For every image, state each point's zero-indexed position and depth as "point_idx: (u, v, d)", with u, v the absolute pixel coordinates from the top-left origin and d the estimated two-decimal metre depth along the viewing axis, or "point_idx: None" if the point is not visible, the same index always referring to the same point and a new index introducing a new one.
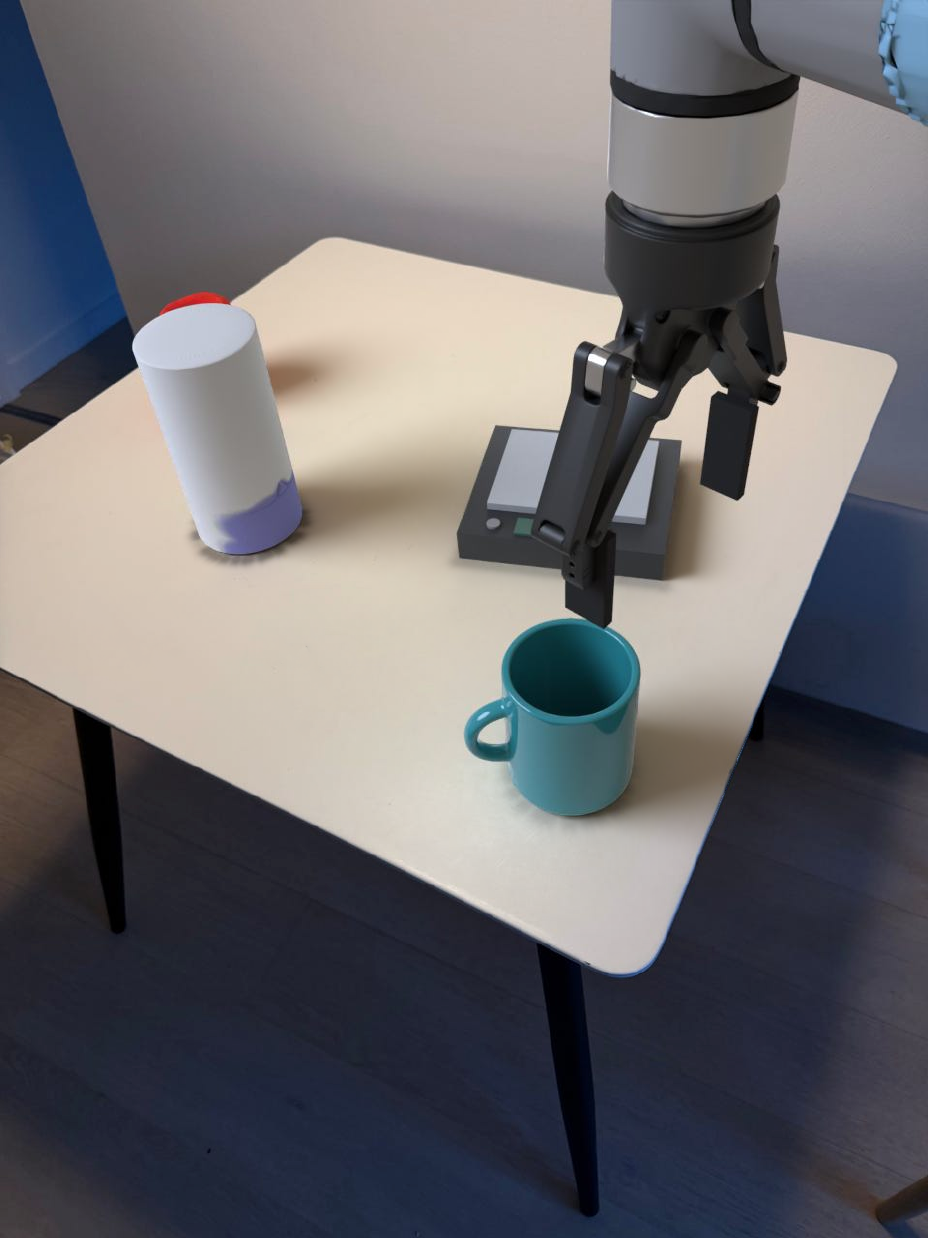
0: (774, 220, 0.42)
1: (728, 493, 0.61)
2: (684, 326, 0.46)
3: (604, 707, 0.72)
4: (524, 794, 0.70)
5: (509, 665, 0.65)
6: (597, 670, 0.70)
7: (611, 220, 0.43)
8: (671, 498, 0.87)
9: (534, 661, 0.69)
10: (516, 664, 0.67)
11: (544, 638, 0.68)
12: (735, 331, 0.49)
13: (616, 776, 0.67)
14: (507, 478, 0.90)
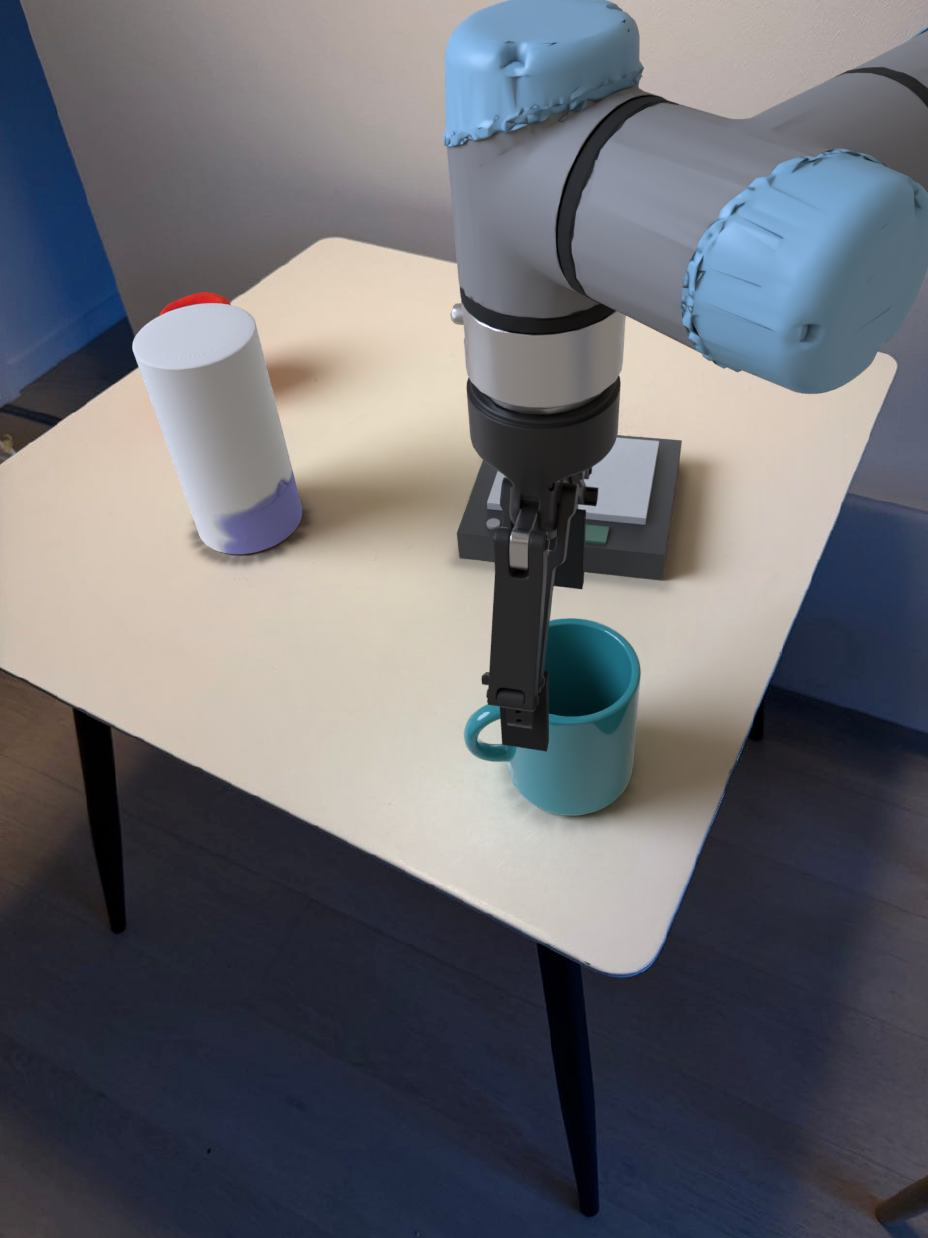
0: None
1: (572, 585, 0.67)
2: (560, 483, 0.51)
3: (604, 707, 0.72)
4: (524, 794, 0.70)
5: None
6: (597, 670, 0.70)
7: (490, 419, 0.47)
8: (671, 498, 0.87)
9: None
10: None
11: None
12: None
13: (616, 776, 0.67)
14: None
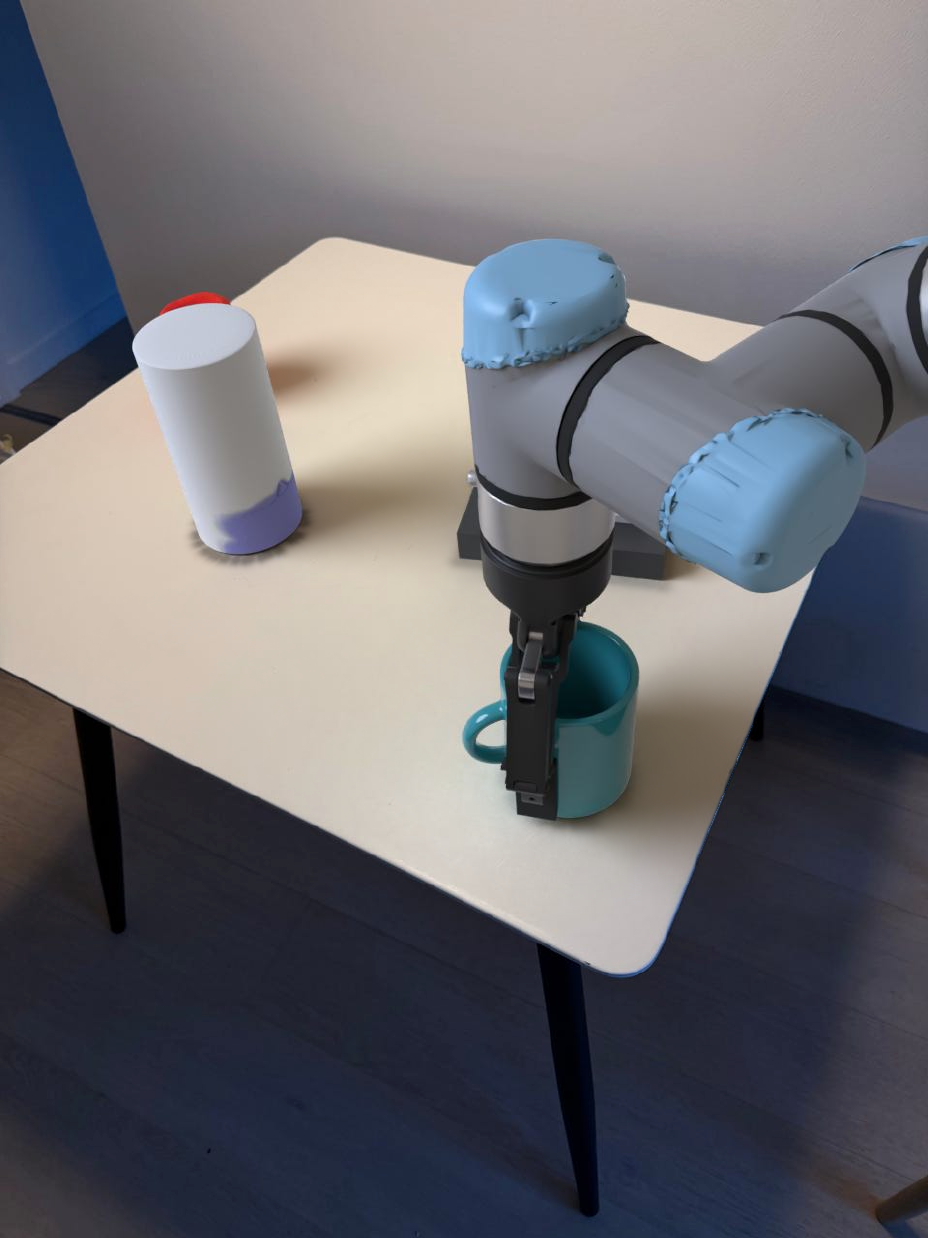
0: None
1: None
2: None
3: (603, 709, 0.72)
4: None
5: None
6: (596, 672, 0.69)
7: (500, 568, 0.54)
8: None
9: None
10: None
11: None
12: None
13: (615, 778, 0.67)
14: None
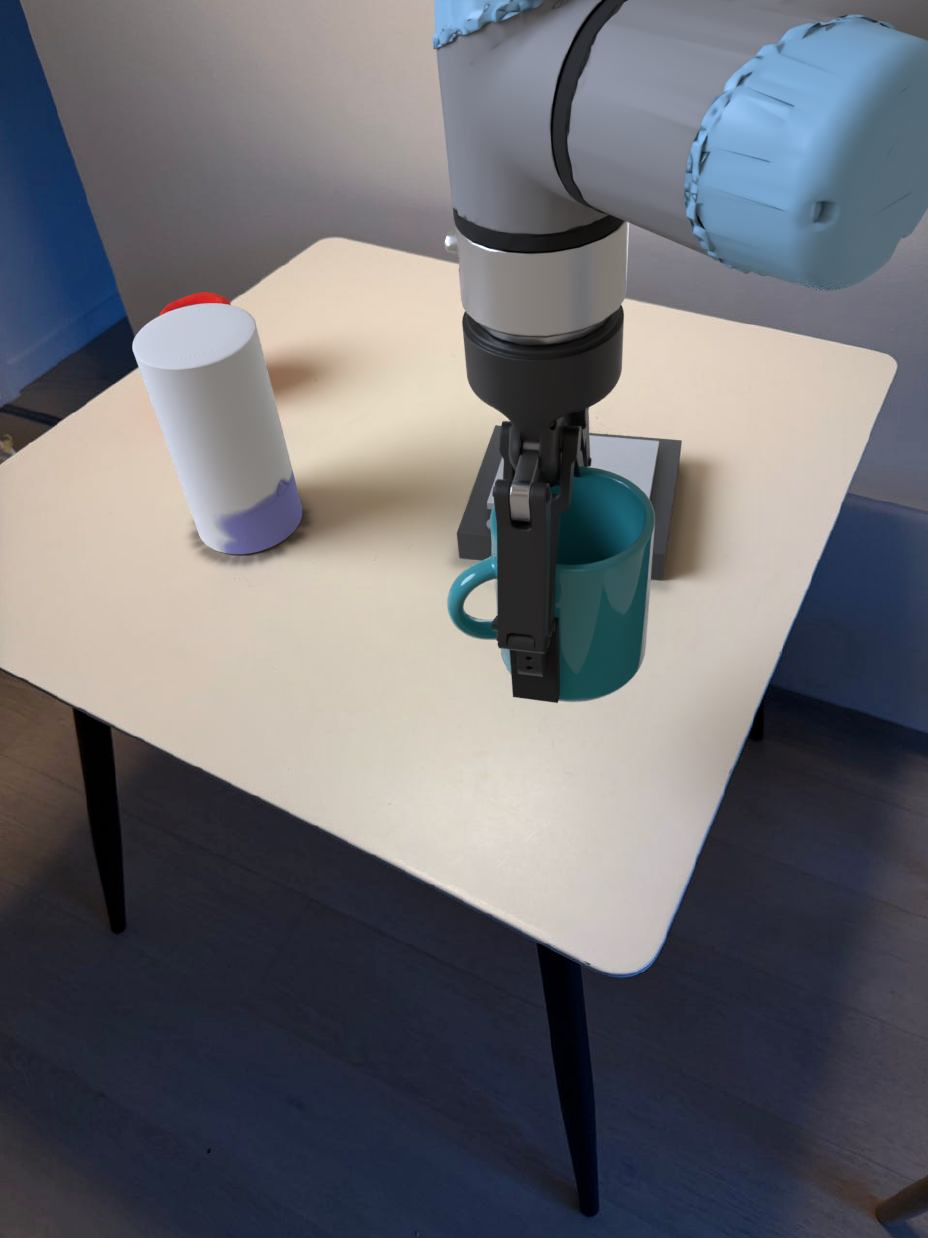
0: (623, 314, 0.46)
1: None
2: (561, 428, 0.48)
3: None
4: None
5: None
6: (603, 532, 0.60)
7: (487, 352, 0.44)
8: (671, 498, 0.87)
9: None
10: None
11: None
12: None
13: (627, 651, 0.57)
14: None
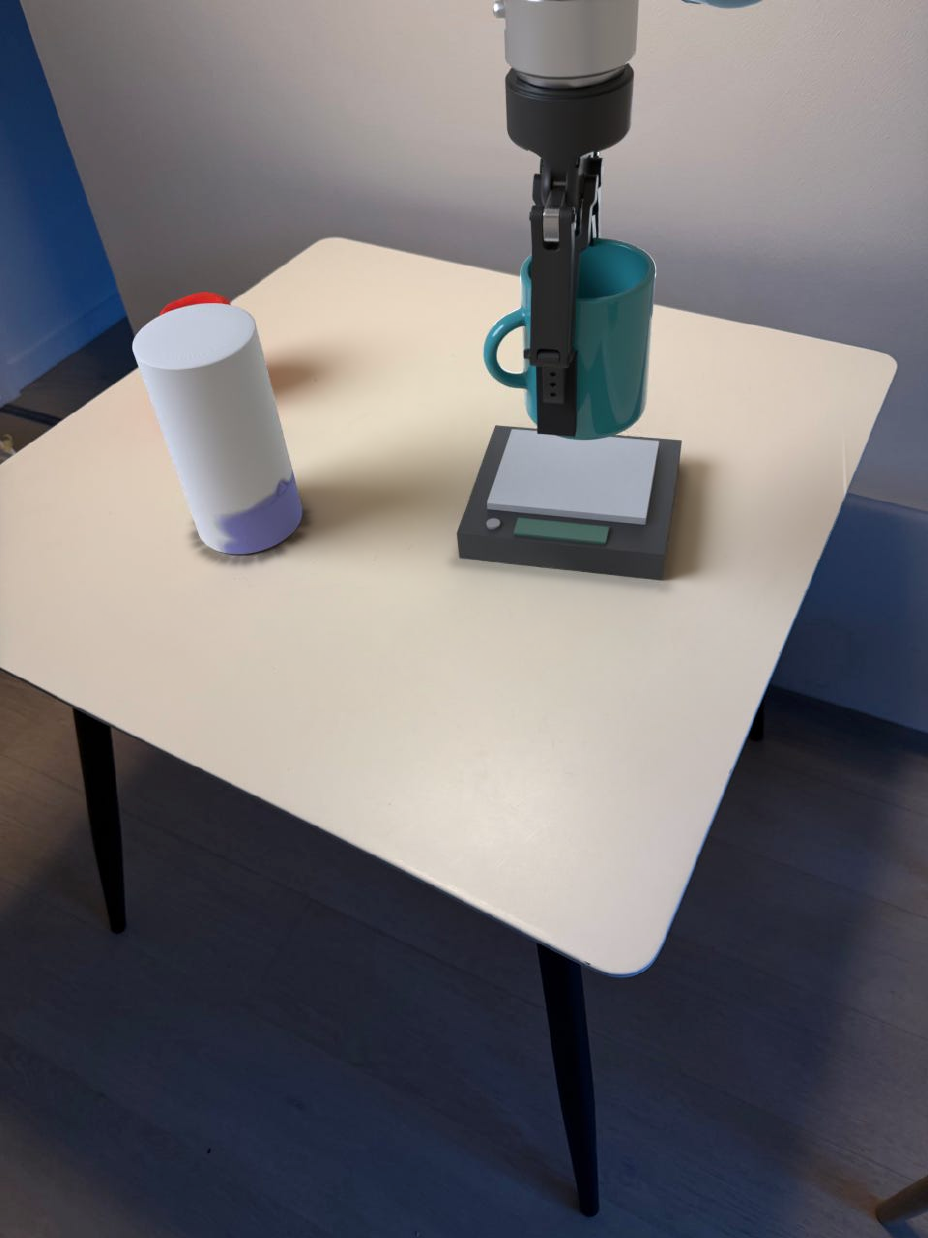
0: (633, 73, 0.58)
1: None
2: (582, 174, 0.60)
3: None
4: None
5: (528, 269, 0.67)
6: None
7: (526, 96, 0.56)
8: (671, 498, 0.87)
9: None
10: None
11: None
12: None
13: (631, 390, 0.69)
14: (507, 478, 0.90)
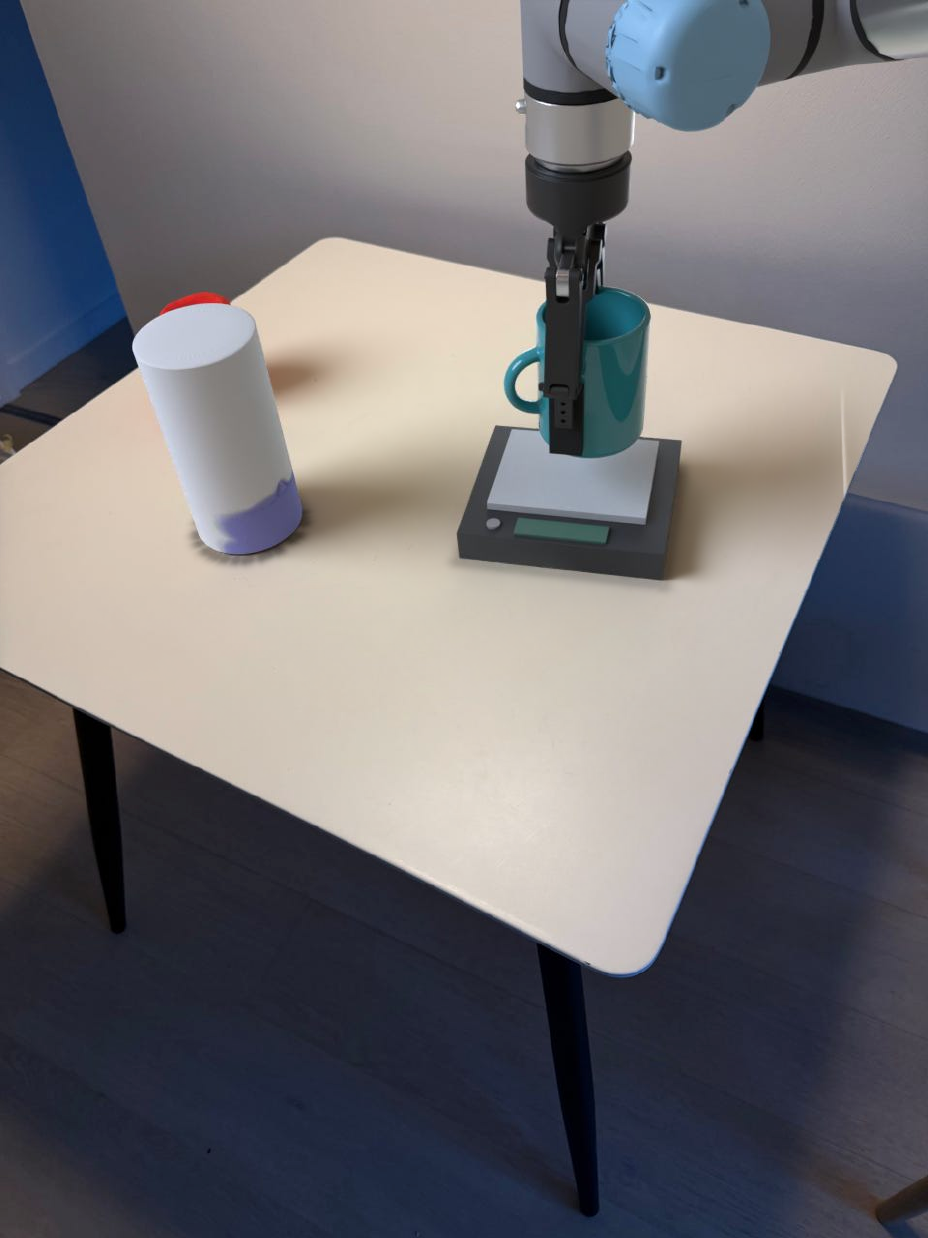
0: (631, 158, 0.69)
1: None
2: (589, 239, 0.72)
3: None
4: None
5: (542, 314, 0.79)
6: None
7: (542, 178, 0.68)
8: (671, 498, 0.87)
9: None
10: None
11: None
12: None
13: (630, 416, 0.81)
14: (507, 478, 0.90)
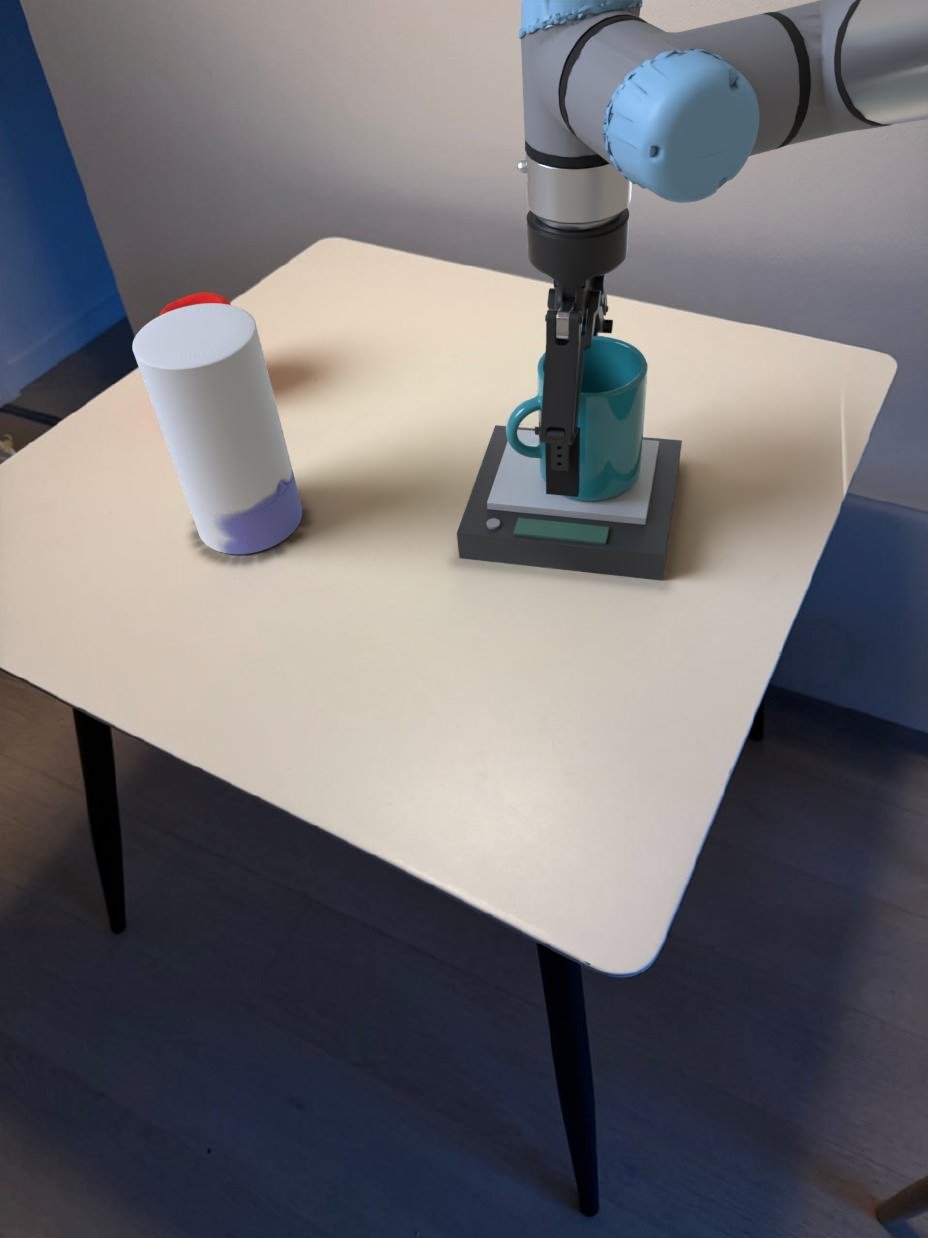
0: None
1: None
2: (588, 288, 0.75)
3: None
4: None
5: (543, 365, 0.82)
6: (612, 385, 0.87)
7: (543, 235, 0.71)
8: (671, 498, 0.87)
9: None
10: None
11: None
12: None
13: (628, 462, 0.84)
14: (507, 478, 0.90)
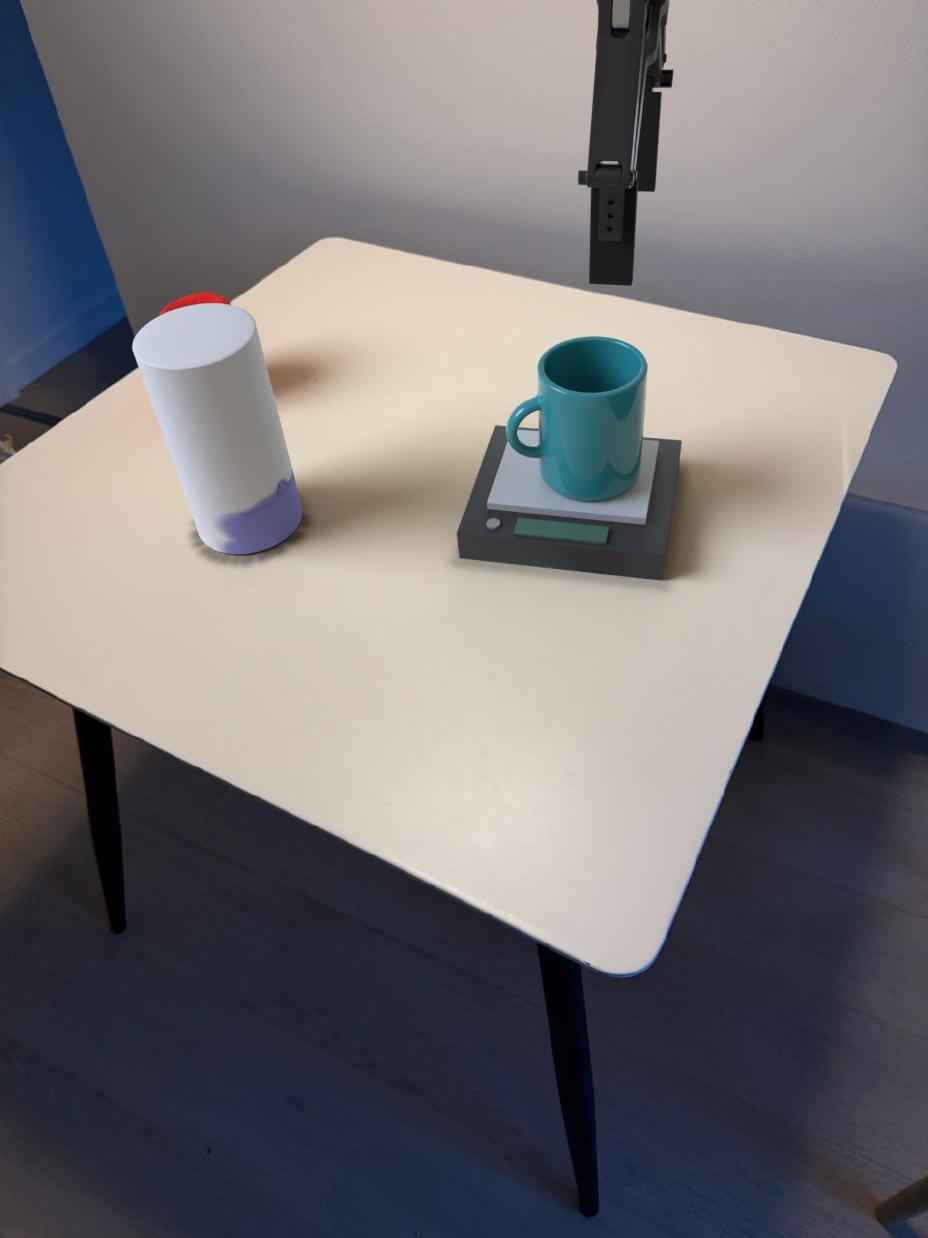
0: None
1: (645, 187, 0.71)
2: None
3: None
4: (553, 485, 0.87)
5: (543, 365, 0.82)
6: (612, 385, 0.87)
7: None
8: (671, 498, 0.87)
9: (562, 375, 0.86)
10: (548, 371, 0.84)
11: (570, 353, 0.85)
12: None
13: (628, 462, 0.84)
14: (507, 478, 0.90)
